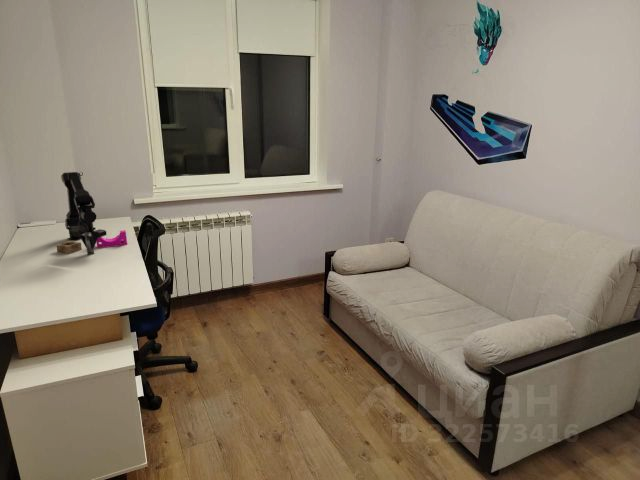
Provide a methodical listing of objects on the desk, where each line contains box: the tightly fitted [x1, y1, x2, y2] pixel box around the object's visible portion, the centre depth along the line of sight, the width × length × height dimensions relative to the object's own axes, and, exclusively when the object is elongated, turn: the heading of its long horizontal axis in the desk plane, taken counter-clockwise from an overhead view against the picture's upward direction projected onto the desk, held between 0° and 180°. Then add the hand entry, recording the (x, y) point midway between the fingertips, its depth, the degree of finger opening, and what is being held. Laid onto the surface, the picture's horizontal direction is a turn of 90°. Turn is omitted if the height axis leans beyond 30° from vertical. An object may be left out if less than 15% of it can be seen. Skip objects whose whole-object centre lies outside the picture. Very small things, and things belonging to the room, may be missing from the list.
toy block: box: [96, 229, 128, 249], centre depth 245 cm, size 15×6×8 cm, turn 116°
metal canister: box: [85, 234, 95, 256], centre depth 228 cm, size 3×3×10 cm
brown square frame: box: [55, 240, 83, 255], centre depth 233 cm, size 8×8×4 cm
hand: (90, 248), depth 229 cm, fingers closed on metal canister, 3 cm apart
